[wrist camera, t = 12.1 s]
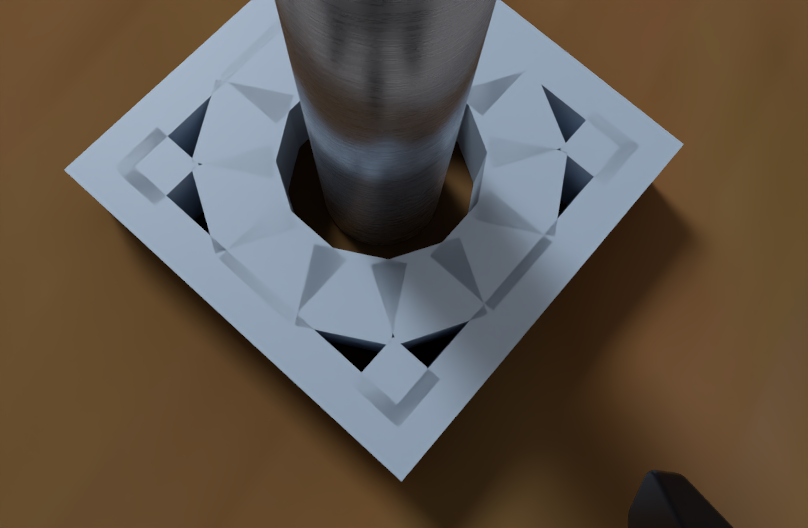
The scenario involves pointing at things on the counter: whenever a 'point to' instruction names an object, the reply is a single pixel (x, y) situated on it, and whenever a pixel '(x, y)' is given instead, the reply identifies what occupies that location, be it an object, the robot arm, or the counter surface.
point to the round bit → (383, 102)
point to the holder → (362, 274)
